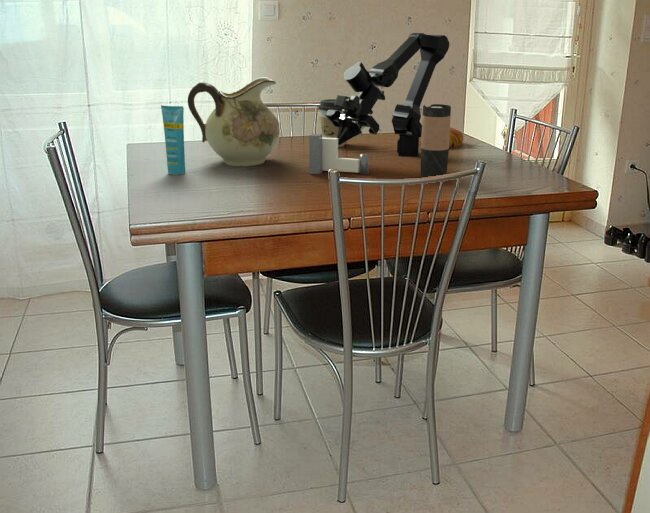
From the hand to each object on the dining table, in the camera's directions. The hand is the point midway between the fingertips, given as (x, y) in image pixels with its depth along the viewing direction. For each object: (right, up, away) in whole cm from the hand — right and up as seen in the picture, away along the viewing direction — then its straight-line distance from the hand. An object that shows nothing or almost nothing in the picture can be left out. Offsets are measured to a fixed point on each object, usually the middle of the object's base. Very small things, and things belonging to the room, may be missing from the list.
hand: (337, 144), depth 213 cm
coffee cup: (0, +5, +36) cm, 37 cm away
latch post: (-6, -9, -5) cm, 12 cm away
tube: (-46, -9, -5) cm, 47 cm away
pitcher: (-29, -4, +9) cm, 31 cm away
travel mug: (+27, -12, -11) cm, 31 cm away
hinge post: (+8, -9, -5) cm, 13 cm away
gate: (-1, -8, -3) cm, 9 cm away
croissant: (+37, +5, +37) cm, 52 cm away
